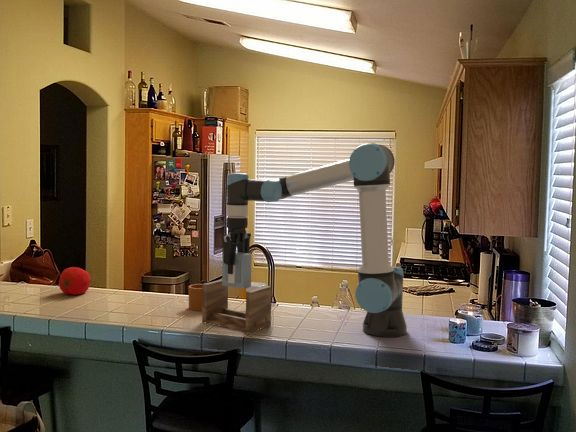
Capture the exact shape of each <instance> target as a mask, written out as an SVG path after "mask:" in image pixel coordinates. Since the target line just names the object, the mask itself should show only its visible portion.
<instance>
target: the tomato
mask: <svg viewBox="0 0 576 432" xmlns="http://www.w3.org/2000/svg"><path fill="white" fill-rule="evenodd" d="M91 281H92V279H91V276H90V274H89V272H88V271H86V270H84V269H83V268H81V267H76V266H72V267H67V268H65V269H64V270H63V271H62V272H61V274H60V278H59V280H58V286H59V289H60V291H61V292H62V293H63V294H66V295H74V296H76V295H77V296H78V295H83V294H84V293H86V292H87V291H88V290H89V288H90V285H91Z"/></svg>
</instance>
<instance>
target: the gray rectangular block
mask: <svg viewBox="0 0 576 432" xmlns="http://www.w3.org/2000/svg"><path fill="white" fill-rule="evenodd" d="M221 254H222V258H221V259H222V261H221V262H222V265H221V266H222V268H221V280H222V285H225V286H228V287H231V288H237V289H242V290H245V289H247V288H249V287H251V283H252V253H250V252H249V253H242V252H238V251H236V255H235V261H234V265H236V280H235V283H228V265H227V264H225V263H224V262H223V251H222V253H221Z"/></svg>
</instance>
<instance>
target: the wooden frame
mask: <svg viewBox="0 0 576 432" xmlns="http://www.w3.org/2000/svg"><path fill="white" fill-rule="evenodd" d="M201 284H202V311H201V322H202V323H204V322H206V323H205V324H208V323H211V324H210V325H213V324H215V325H214V326H217V325H220V326H219V327H222V326H223V327H222V328H226V327H228V328H227V329H231V328H232V330H235V331H241V332H245V333H249V332H250V333H254V332H256V331H259V330H261V329H260V328H262V329H264V328H267V327H269V325H270V326H271V324H272V286H269V285H266V286H265V287H261V288H258V289H254V290H250V291H247V290H246V291H245V312H244V311H241V310H235V309H231V308H229V286H225V285H222V279H217V280H215V281H210V282H205V283H201ZM266 326H267V327H266ZM263 327H264V328H263ZM258 329H259V330H258ZM253 331H254V332H253Z"/></svg>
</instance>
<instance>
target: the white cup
mask: <svg viewBox="0 0 576 432" xmlns="http://www.w3.org/2000/svg"><path fill="white" fill-rule="evenodd" d="M265 286H267V284H266V283H265V282H259V281H258V282H255V281H254V282H252V281H251V287H249V288H246V292H247V291H250V290H254V289H258V288H261V287H265Z"/></svg>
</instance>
